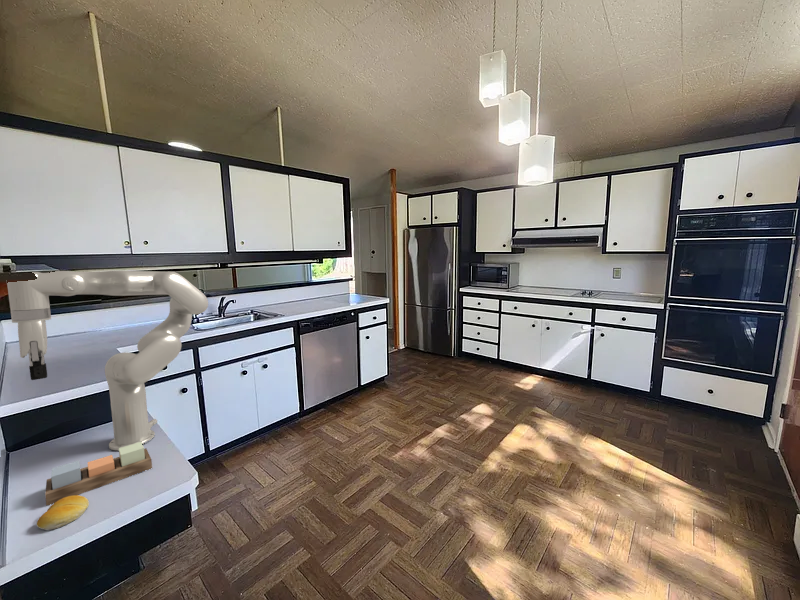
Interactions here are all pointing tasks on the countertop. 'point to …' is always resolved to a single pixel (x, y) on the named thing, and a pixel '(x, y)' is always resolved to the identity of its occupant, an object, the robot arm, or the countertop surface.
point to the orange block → (101, 466)
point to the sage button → (131, 454)
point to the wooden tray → (96, 479)
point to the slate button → (66, 474)
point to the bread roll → (63, 512)
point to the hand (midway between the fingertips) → (39, 378)
